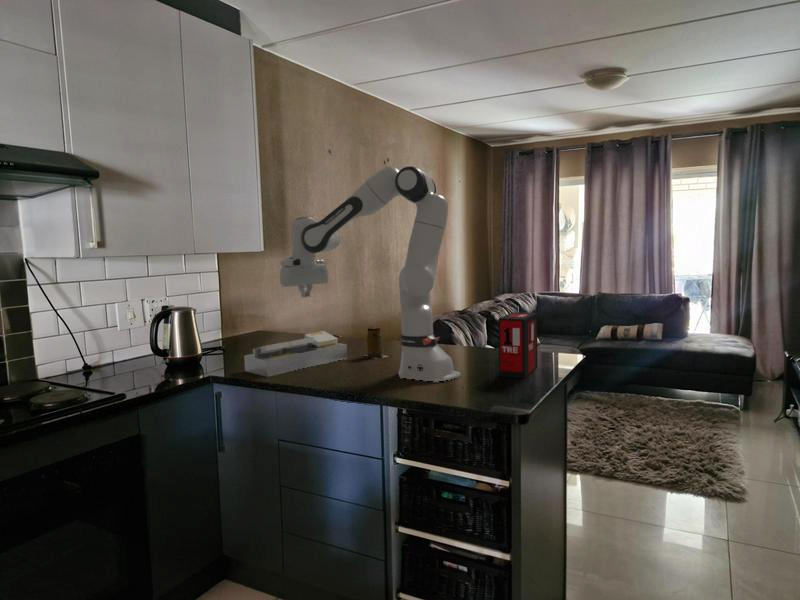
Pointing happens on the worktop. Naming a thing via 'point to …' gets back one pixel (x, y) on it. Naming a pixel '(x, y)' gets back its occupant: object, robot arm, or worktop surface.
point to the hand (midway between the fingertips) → (305, 297)
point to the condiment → (374, 343)
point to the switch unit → (293, 358)
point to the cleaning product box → (517, 344)
